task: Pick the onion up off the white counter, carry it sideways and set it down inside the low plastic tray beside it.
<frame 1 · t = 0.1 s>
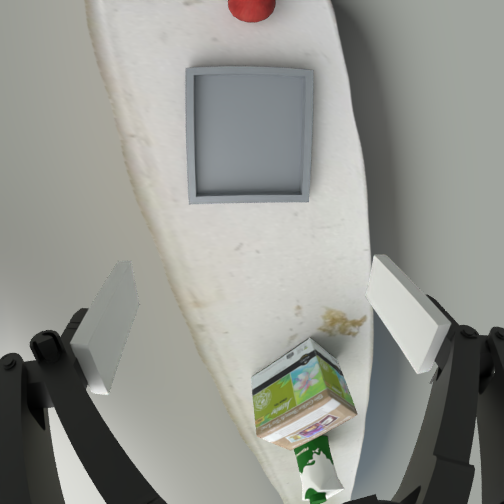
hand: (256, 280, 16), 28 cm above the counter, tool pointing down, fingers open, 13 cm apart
tea box: (293, 367, 58), on the counter
tray: (248, 133, 39), on the counter
milk carton: (310, 440, 72), on the counter
onion: (249, 11, 32), on the counter
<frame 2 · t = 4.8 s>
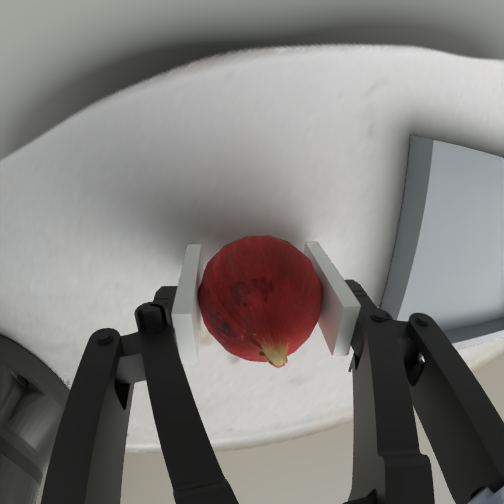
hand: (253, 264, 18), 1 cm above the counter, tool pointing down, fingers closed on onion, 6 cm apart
tray: (479, 252, 20), on the counter
onion: (253, 261, 18), on the counter, touching gripper
when the fingers open (3 cm above the counter, at t = 9.7 s): onion drops 1 cm, resting on tray.
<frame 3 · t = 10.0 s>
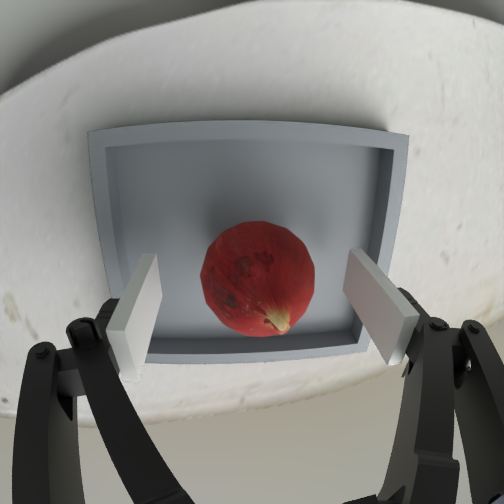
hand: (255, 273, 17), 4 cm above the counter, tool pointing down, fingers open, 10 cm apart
tray: (249, 246, 20), on the counter
onion: (246, 251, 19), point 1 cm above the counter, touching tray
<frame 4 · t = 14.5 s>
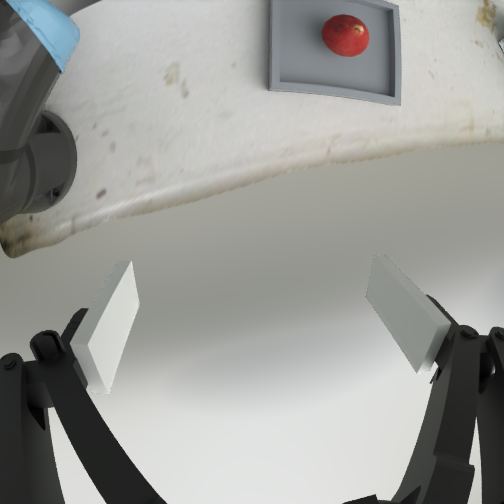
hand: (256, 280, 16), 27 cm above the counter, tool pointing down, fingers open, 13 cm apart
tray: (335, 42, 33), on the counter
onion: (335, 41, 32), point 1 cm above the counter, touching tray
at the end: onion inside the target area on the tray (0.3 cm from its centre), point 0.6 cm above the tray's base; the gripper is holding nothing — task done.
